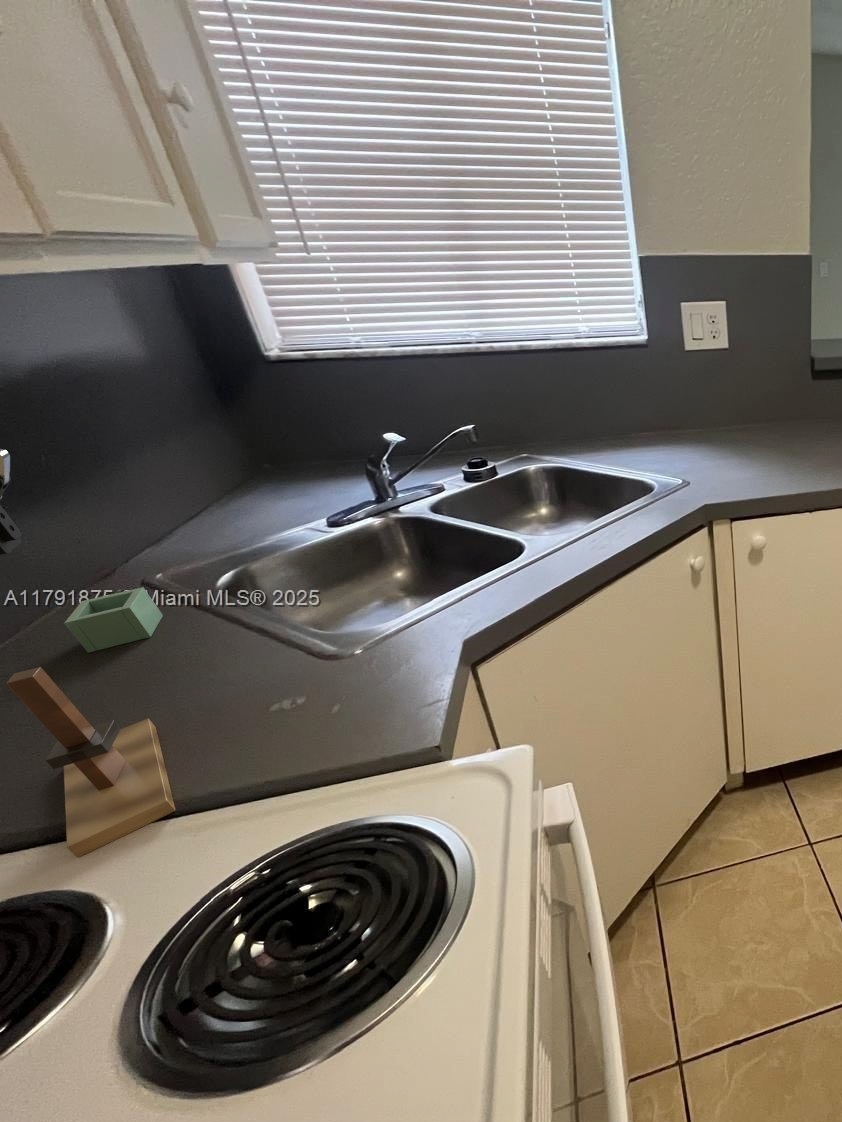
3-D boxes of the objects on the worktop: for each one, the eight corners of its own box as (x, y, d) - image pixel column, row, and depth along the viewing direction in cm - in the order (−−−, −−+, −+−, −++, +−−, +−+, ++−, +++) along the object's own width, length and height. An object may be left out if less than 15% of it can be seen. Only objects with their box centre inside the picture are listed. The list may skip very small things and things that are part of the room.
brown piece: (79, 796, 61) (-18, 694, 55) (93, 770, 64) (2, 671, 58) (132, 779, 63) (44, 678, 56) (143, 755, 66) (61, 656, 59)
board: (72, 762, 68) (62, 752, 67) (156, 727, 72) (148, 718, 71) (77, 858, 57) (66, 847, 56) (176, 811, 61) (167, 800, 60)
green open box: (87, 653, 86) (63, 623, 84) (103, 630, 91) (81, 600, 89) (151, 637, 89) (129, 607, 86) (163, 615, 94) (143, 586, 92)
